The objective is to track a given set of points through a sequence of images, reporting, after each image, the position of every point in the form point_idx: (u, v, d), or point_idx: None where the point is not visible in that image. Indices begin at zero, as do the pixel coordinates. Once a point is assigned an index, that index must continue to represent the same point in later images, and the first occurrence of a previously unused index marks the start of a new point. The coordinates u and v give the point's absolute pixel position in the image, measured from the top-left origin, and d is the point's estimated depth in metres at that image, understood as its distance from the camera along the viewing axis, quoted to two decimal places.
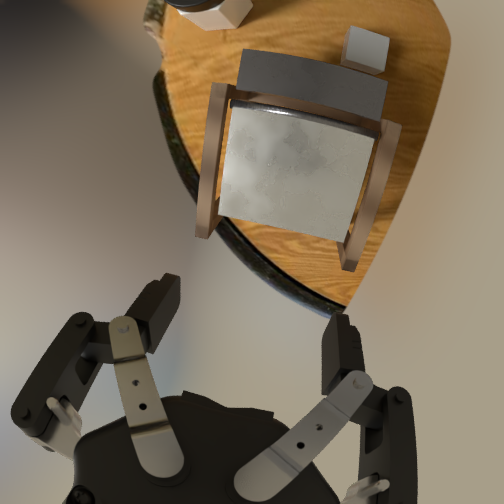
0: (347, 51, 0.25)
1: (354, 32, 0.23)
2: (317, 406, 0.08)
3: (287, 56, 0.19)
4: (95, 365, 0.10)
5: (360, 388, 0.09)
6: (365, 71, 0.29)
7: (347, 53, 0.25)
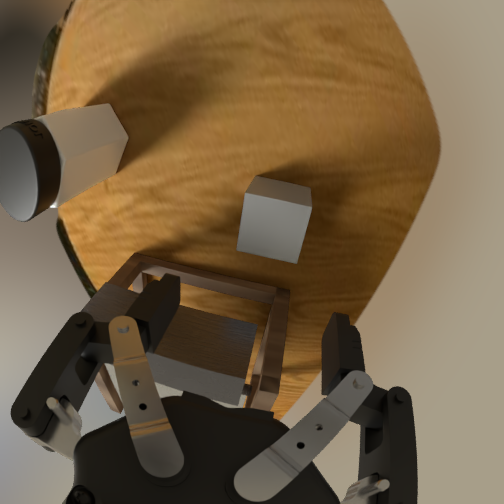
0: (239, 238, 0.22)
1: (250, 205, 0.21)
2: (317, 406, 0.08)
3: None
4: (95, 365, 0.10)
5: (360, 388, 0.09)
6: None
7: (239, 241, 0.22)
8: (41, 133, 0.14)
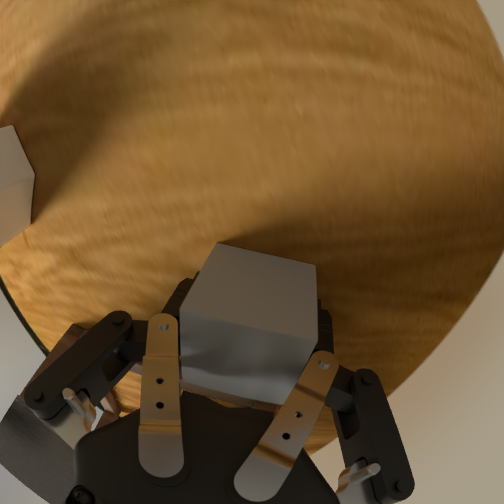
0: (184, 368, 0.12)
1: (193, 329, 0.10)
2: (291, 394, 0.08)
3: (31, 489, 0.06)
4: (125, 365, 0.10)
5: (325, 367, 0.10)
6: None
7: (184, 372, 0.12)
8: None
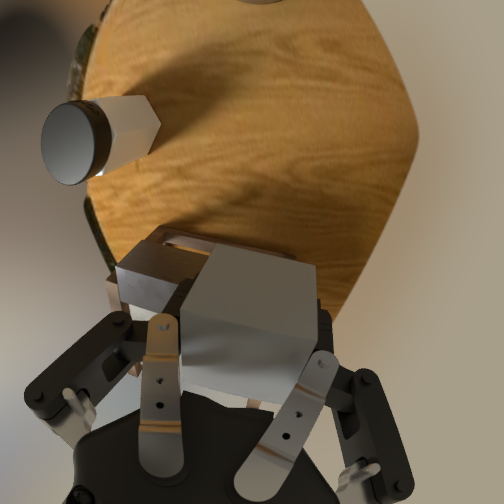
0: (184, 368, 0.12)
1: (193, 329, 0.10)
2: (291, 394, 0.08)
3: (155, 279, 0.22)
4: (126, 365, 0.10)
5: (325, 367, 0.10)
6: None
7: (185, 372, 0.12)
8: (98, 111, 0.19)
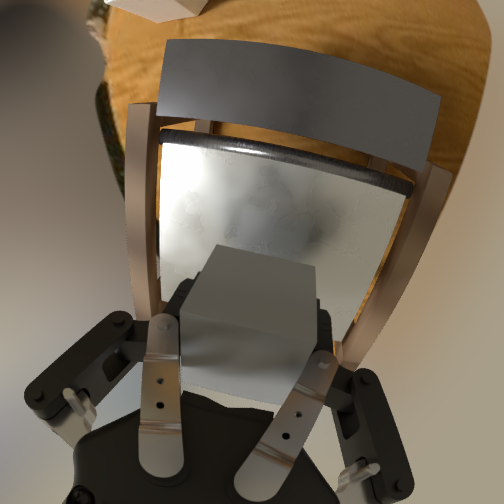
0: (184, 369, 0.12)
1: (193, 330, 0.10)
2: (290, 394, 0.08)
3: (248, 44, 0.10)
4: (126, 365, 0.10)
5: (324, 367, 0.10)
6: None
7: (184, 373, 0.12)
8: None
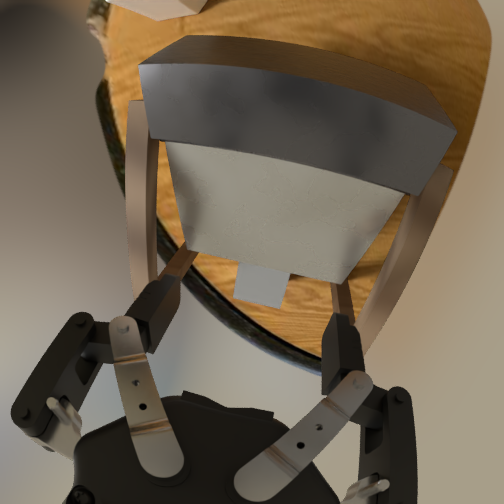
0: None
1: None
2: (317, 406, 0.08)
3: (230, 70, 0.09)
4: (95, 365, 0.10)
5: (360, 388, 0.09)
6: None
7: None
8: None
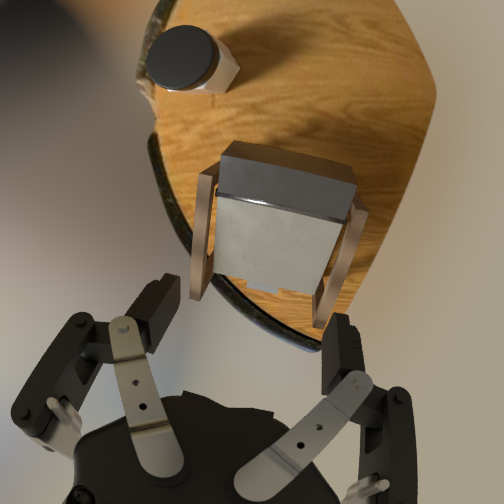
0: None
1: None
2: (317, 406, 0.08)
3: (262, 164, 0.25)
4: (95, 365, 0.10)
5: (360, 388, 0.09)
6: None
7: None
8: (211, 36, 0.23)
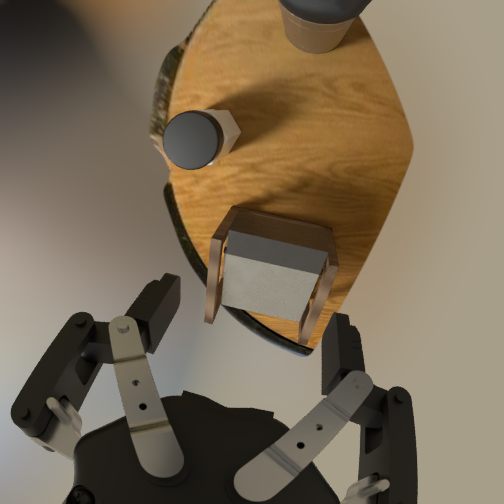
0: None
1: None
2: (317, 406, 0.08)
3: (258, 237, 0.36)
4: (95, 365, 0.10)
5: (360, 388, 0.09)
6: None
7: None
8: (216, 120, 0.34)
